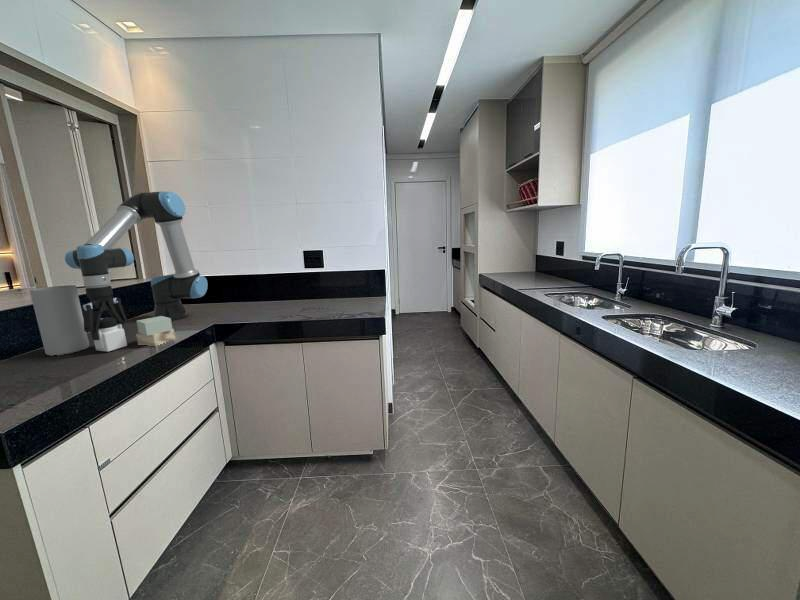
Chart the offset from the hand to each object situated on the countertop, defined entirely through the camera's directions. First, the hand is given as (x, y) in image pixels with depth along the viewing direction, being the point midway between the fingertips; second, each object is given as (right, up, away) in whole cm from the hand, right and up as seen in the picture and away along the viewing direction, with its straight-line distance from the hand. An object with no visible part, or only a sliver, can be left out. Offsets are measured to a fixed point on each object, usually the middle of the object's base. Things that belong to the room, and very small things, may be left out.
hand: (111, 343), depth 133 cm
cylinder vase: (-17, -3, +1) cm, 18 cm away
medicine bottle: (0, -2, 0) cm, 2 cm away
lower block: (+13, -1, +7) cm, 15 cm away
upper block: (+13, +4, +6) cm, 15 cm away
